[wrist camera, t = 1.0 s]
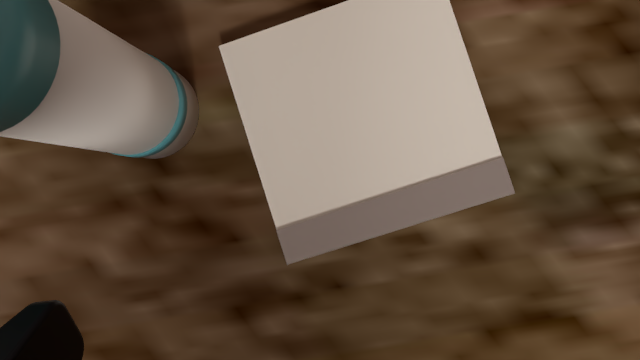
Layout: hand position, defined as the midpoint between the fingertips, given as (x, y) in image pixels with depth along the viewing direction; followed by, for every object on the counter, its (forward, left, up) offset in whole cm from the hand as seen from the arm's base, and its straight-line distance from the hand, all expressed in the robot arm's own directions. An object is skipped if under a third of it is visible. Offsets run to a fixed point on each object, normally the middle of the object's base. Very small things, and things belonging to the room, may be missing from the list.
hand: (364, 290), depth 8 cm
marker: (-7, +7, -14) cm, 18 cm away
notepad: (+1, +4, -14) cm, 15 cm away
